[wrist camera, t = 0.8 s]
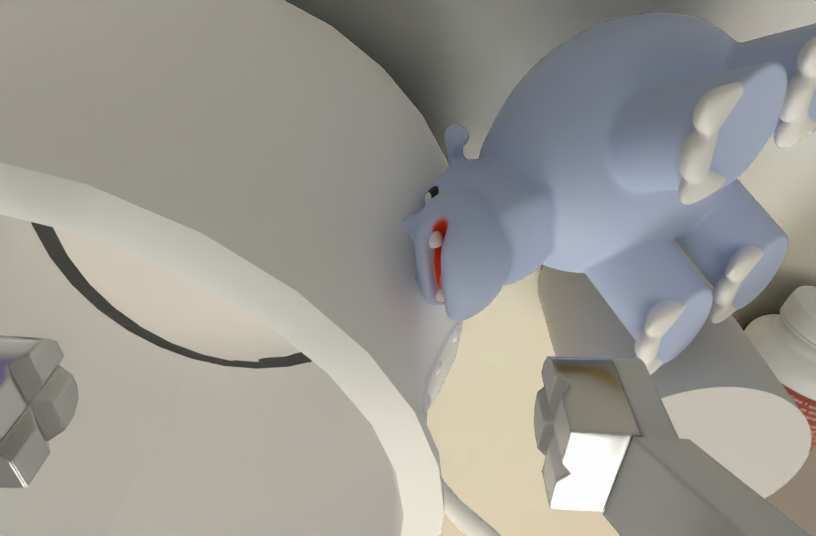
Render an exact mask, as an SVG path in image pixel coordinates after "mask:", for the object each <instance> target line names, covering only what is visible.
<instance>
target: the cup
mask: <svg viewBox="0 0 816 536" xmlns="http://www.w3.org/2000/svg"><path fill="white" fill-rule="evenodd" d="M673 243H674V244H675V245H676V247H677V248H678V249H679V250H680V251H681V253H682V254H683V255H684V256H685V258H686V259H687V260H688V261H689V263H690V264H691V265H692V266H693V267H694V269H695V270H696V271H697V272H698V274H699V275H700V276H701V277H702V279H703V280H704V281H705V282H706V283H707V285H708V286H709V287H710V289H711V291H712V294H713V287H712V286H711V284H710V283H709V282H708V280H707V279H706V278H705V276H704V275H703V274H702V273H701V272H700V270H699V269H698V268H697V267H696V265H695V264H694V263H693V262H692V261H691V259H690V258H689V257H688V256H687V254H686V253H685V252H684V251H683V249H682V248H681V247H680V246H679V245H678V243H677V242H676V241H675V240H673ZM538 293H539V298H540V302H541V305H542V309H543V313H544V316H545V320H546V323H547V327H548V331H549V334H550V338H551V342H552V345H553V349H554V352H555V356H556V357H588V358H607V359H608V358H635V357H636V353H635V342H636V341H635V339H634V338H633V337H632V335H631V334H630V332H629V331H628V330H627V328H626V327H625V326H624V324H623V323H622V322H621V320H620V319H619V318H618V316H617V315H616V314H615V312H614V311H613V310H612V308H611V307H610V306H609V304H608V303H607V302H606V300H605V299H604V298H603V296H602V295H601V294H600V292H599V291H598V290H597V288H596V287H595V286H594V284H593V283H592V282H591V280H590V279H589V278H588V276H587V275H586V274H585V273H575V272H566V271H561V270H557V269H554V268H550V267H547V266H545V265H543V267H542V269H541V272H540V276H539V281H538ZM650 376H651V378H652V380H653V382H654V385H655V387H656V389H657V391H658V393H659V395H660V398H661V400H662V402H663V404H664V406H665V408H666V411H667V413H668V415H669V417H670V419H671V421H672V424H673V426H674V428H675V430H676V432H677V434H678V437H679V439H690V440H691V441H692V442H693V443H695V444H696V445H697V446H698V447H700V448H701V449H702V450H703V451H705V452H706V453H707V454H709V455H710V456H711V457H712V458H714V459H715V460H716V461H717V462H719V463H720V464H721V465H722V466H724V467H725V468H726V469H727V470H729V471H730V472H731V473H732V474H734V475H735V476H736V477H738V478H739V479H740V480H741V481H743V482H744V483H745V484H746V485H748V486H749V487H750V488H751V489H753V490H754V491H755V492H756V493H758V494H759V495H760V496H761V497H763V498H766V497H768V496H769V495H771V494H773V493H774V492H775V491H777V490H778V489H780V488H781V487H782V486H784V485H785V484H786V483H787V482H788V481H789V480H790V479H791V478H792V477H793V476H794V475H795V474H796V473H797V472H798V470H799V469H800V468H801V466H802V465H803V464H804V462H805V460H806V458H807V455H808V453H809V450H810V446H811V430H810V426H809V424H808V421H807V420H806V418H805V416H804V415H803V414H802V412H801V411H800V409H799V408H798V406H797V405H796V404H795V402H794V401H793V399H792V398H791V397H790V395H789V394H788V392H787V391H786V390H785V388H784V387H783V385H782V384H781V383H780V381H779V380H778V378H777V377H776V376H775V374H774V373H773V371H772V370H771V369H770V367H769V366H768V364H767V363H766V362H765V360H764V359H763V357H762V356H761V355H760V353H759V352H758V350H757V349H756V348H755V346H754V345H753V343H752V342H751V341H750V339H749V338H748V336H747V335H746V334H745V332H744V331H743V329H742V328H741V327H740V325H739V324H738V322H737V321H736V320H735V318H734V317H733V315H732V314H731V315H730V316H729V317H727V318H726V319H725V320H723V321H722V322H720V323H716V324H715V323H712V322H711V321H710V318H709V315H708V317H707V319H706V321H705V323H704V325H703V326H702V328H701V329H700V331H699V332H698V334H697V335H696V336H695V338H694V339H693V340H692V342H691V343H690V344H689V345H688V346H687V347H686V348H685V349H684V350H683V351H682V352H681V353H680V354H679V355H678V356H676V357H675V358H674V359H672V360H671V361H669V362H667V363H664V364H662V365H661V366H660V367H659V368H658V369H657V370H656V371H655V372H654V373H653V374H651V375H650Z"/></svg>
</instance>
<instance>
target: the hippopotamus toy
mask: <svg viewBox="0 0 816 536" xmlns="http://www.w3.org/2000/svg"><path fill="white" fill-rule="evenodd" d="M814 131H816V23H815V24H812V25H808V26H804V27H800V28H796V29H792V30H788V31H785V32H781V33H777V34H773V35H769V36H765V37H762V38H758V39H754V40H751V41H747V42H742V43H740V42H737V41H735V40H734V39H733V38H731V37H730V36H729V35H728V34H726V33H725V32H724V31H722V30H721V29H719V28H718V27H716V26H715V25H713V24H711V23H709V22H707V21H705V20H702V19H700V18H697V17H694V16H691V15H686V14H681V13H673V12H651V13H641V14H635V15H629V16H625V17H621V18H617V19H613V20H610V21H607V22H604V23H601V24H599V25H596V26H594V27H592V28H589V29H587V30H585V31H583V32H581V33H579V34H577V35H575V36H574V37H572V38H570V39H569V40H567V41H565V42H564V43H562V44H561V45H559V46H558V47H556V48H555V49H554V50H552V51H551V52H550V53H548V54H547V55H546V56H545V57H544V58H542V59H541V60H540V61H539V62H538V63H537V64H536V65H535V66H534V67H533V68H532V69H531V70H530V71H529V72H528V73H527V74H526V75H525V76H524V77H523V79H522V80H521V81H520V82H519V83H518V85H517V86H516V87H515V88H514V90H513V91H512V92H511V94H510V95H509V97H508V98H507V100H506V101H505V103H504V104H503V106H502V108H501V109H500V111H499V113H498V115H497V117H496V118H495V120H494V122H493V124H492V126H491V128H490V130H489V132H488V134H487V136H486V138H485V140H484V143H483V145H482V148H481V151H480V155H479V159H466V158H465V157H464V155H463V147H464V145H465V144H466V143H467V142H468V139H469V134H468V132H467V130H466V129H465V128H464V127H463V126H461V125H451V126H450V127H448V128H447V130H446V132H445V136H444V140H445V145H446V149H447V153H448V157H449V162H450V164H449V167H448V168H447V169H446V170H445V171H444V172H443V173H442V174H441V175H440V176H439V177H438V178H437V179H436V180H435V181H434V182H432V183H431V184H430V185H429V186H428V188H427V189H426V196H425V204H426V205H425V207H424V208H423V209H422V210H421V211H420V212H419V213H417V214H413V215H410V216H407V217H406V218H405V219H404V221H403V225H404V228H405V231H406V233H407V234H408V236H409V237H410V238H411V239H412V240H413V243H414V253H415V260H416V266H417V274H416V276H415V280H416V281H417V282H418V284H419V290H420V291H421V294H422V297H423V299H424V301H425V302H426V303H428V304H430V305H445V309H446V313H447V316H448V317H449V318H450V319H451V320H455V321H460V320H465V319H468V318H470V317H472V316H474V315H476V314H477V313H479V312H480V311H482V310H483V309H484V308H485V307H486V306H487V305H488V304H489V303H490V302H491V301H492V300H493V299H494V298H495V297H496V296H497V294H498V293H499V291H500V290H501V288H502V287H503V286H505V285H509V284H512V283H514V282H517V281H519V280H521V279H523V278H524V277H526V276H528V275H529V274H531V273H532V272H533V271H535V270H536V269H537V268H538V267H539V266H540V265H541V264H542V265H545V266H547V267H550V268H554V269H557V270H561V271H566V272H575V273H585V274H586V275H587V276H588V278H589V279H590V280H591V282H592V283H593V284H594V286H595V287H596V288H597V290H598V291H599V292H600V294H601V295H602V296H603V298H604V299H605V300H606V302H607V303H608V304H609V306H610V307H611V308H612V310H613V311H614V312H615V314H616V315H617V316H618V318H619V319H620V320H621V322H622V323H623V324H624V326H625V327H626V328H627V330H628V331H629V332H630V334H631V335H632V337H633V338H634V339H635V341H636V342H635V353H636V357H635V358H639V359H641V360H642V361H643V362H644V363H645V365H646V367H647V369H648V372H649V374H650V375H651V374H653V373H654V372H655V371H656V370H657V369H658V368H659V367H660V366H661V365H662V364H664V363H667V362H669V361H671V360H672V359H674V358H675V357H676V356H678V355H679V354H680V353H681V352H682V351H683V350H684V349H685V348H686V347H687V346H688V345H689V344H690V343H691V342H692V340H693V339H694V338H695V336H696V335H697V334H698V332H699V331H700V329H701V328H702V326H703V325H704V323H705V321H706V319H707V317H708V315H709V318H710V321H711V322H712V323H715V324H716V323H720V322H722V321H723V320H725V319H726V318H727V317H729V316H730V315H731V314H732V313H734V312H735V311H736V310H738V309H741V308H743V307H745V306H746V305H747V304H749V303H750V302H751V301H752V300H754V299H755V298H756V297H757V296H758V295H759V294H760V293H761V292H762V291H763V290H764V289H765V288H766V286H767V285H768V284H769V283H770V281H771V280H772V278H773V277H774V276H775V274H776V272H777V271H778V269H779V268H780V266H781V264H782V262H783V260H784V258H785V255H786V252H787V249H788V237H787V235H786V234H785V232H784V231H783V230H782V229H781V228H780V227H779V226H778V224H777V223H776V222H775V221H774V220H773V219H772V218H771V217H770V215H769V214H768V213H767V212H766V211H765V210H764V209H763V207H762V206H761V205H760V204H759V203H758V202H757V201H756V200H755V198H754V197H753V196H752V195H751V194H750V193H749V192H748V190H747V189H746V188H745V187H744V186H743V185H742V184H741V183H740V181H739V180H738V179H737V178H738V177H739V176H740V175H741V174H742V173H743V172H744V171H745V170H746V169H747V168H748V166H749V165H750V164H751V163H752V162H753V160H754V159H755V158H756V156H757V155H758V154H759V152H760V151H761V149H762V148H763V146H764V144H765V143H766V141H767V140H768V138H769V137H774V141H775V144H776V146H777V147H779V148H785V147H788V146H791V145H793V144H795V143H797V142H798V141H800V140H802V139H803V138H804V137H806V136H807V135H808V134H809V133H811V132H814ZM673 240H675V241H676V242H677V243H678V245H679V246H680V247H681V248H682V249H683V251H684V252H685V253H686V254H687V256H688V257H689V258H690V259H691V261H692V262H693V263H694V264H695V265H696V267H697V268H698V269H699V270H700V272H701V273H702V274H703V275H704V276H705V278H706V279H707V280H708V281H709V283H710V284H711V285H712V286H713V288H714V289H713V294H712V291H711V289H710V287H709V286H708V285H707V283H706V282H705V281H704V280H703V279H702V277H701V276H700V275H699V274H698V272H697V271H696V270H695V269H694V267H693V266H692V265H691V264H690V263H689V261H688V260H687V259H686V258H685V256H684V255H683V254H682V253H681V251H680V250H679V249H678V248H677V247H676V245H675V244H674V243H673Z"/></svg>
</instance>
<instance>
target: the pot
mask: <svg viewBox="0 0 816 536" xmlns="http://www.w3.org/2000/svg"><path fill="white" fill-rule="evenodd" d="M448 167H449V164H448V162H447V160H446V158H445V156H444V154H443V152H442V151H441V149H440V147H439V145H438V143H437V141H436V140H435V138H434V136H433V134H432V132H431V130H430V128H429V127H428V125H427V123H426V121H425V119H424V117H423V116H422V114H421V113H420V112H419V111H418V109H417V108H416V107H415V106H414V105H413V103H412V102H411V101H410V100H409V99H408V97H407V96H406V95H405V94H404V93H403V91H402V90H401V89H400V88H399V87H398V85H397V84H396V83H395V82H394V81H393V79H392V78H391V77H390V76H389V75H388V73H387V72H386V71H385V70H384V69H383V68H382V67H381V66H380V65H379V64H378V63H376V62H375V61H374V60H373V59H371V58H370V57H369V56H368V55H367V54H365V53H364V52H363V51H362V50H360V49H359V48H358V47H357V46H356V45H354V44H353V43H352V42H351V41H349V40H348V39H347V38H346V37H345V36H343V35H342V34H341V33H340V32H338V31H337V30H336V29H335V28H334V27H332V26H331V25H329V24H327V23H325V22H323V21H322V20H320V19H318V18H316V17H314V16H312V15H311V14H309V13H307V12H305V11H303V10H301V9H299V8H298V7H296V6H294V5H292V4H290V3H288V2H287V1H285V0H0V335H1V336H17V337H34V338H48V339H51V340H55V341H57V342H58V344H59V346H60V348H61V350H62V352H63V354H64V357H63V359H62V361H61V363H60V366H61V367H63V368H64V369H65V370H67V371H68V372H69V373H71V374H72V375H73V377H74V379H75V382H76V384H77V388H78V402H77V406H76V410H75V414H74V417H73V418H72V420H71V421H70V423H69V425H68V426H67V428H66V430H65V431H63V432H62V433H60V434H58V435H57V436H55V437H54V438H52V439H51V440H49V447H50V454H49V456H48V457H47V459H46V460H45V462H44V463H43V465H42V466H41V468H40V469H39V471H38V472H37V474H36V475H35V477H34V478H33V480H32V481H31V483H30V484H29V486H28V487H27V488H0V536H440V534H441V529H442V525H443V520H444V515H446V516H447V517H448V518H449V519H450V520H451V521H452V522H453V523H454V524H455V525H456V526H457V528H458V529H459V530H460V531H461V532H462V533H463V534H464V535H465V536H501V535H500V534H499V533H498V532H497V531H496V530H495V529H494V528H492V527H491V526H490V525H489V524H488V523H487V522H485V521H484V520H483V519H482V518H481V517H479V516H478V515H477V514H476V513H475V512H474V511H472V510H471V509H470V508H469V507H468V506H467V505H465V504H464V503H463V502H462V501H461V500H460V499H459V498H458V497H457V496H456V494H455V493H454V492H453V491H452V490H451V489H450V487H449V486H448V485H447V484H446V483H445V482H444V480H443V478H442V476H441V467H440V459H439V452H438V450H437V447H436V445H435V443H434V440H433V438H432V436H431V433H430V431H429V429H428V426H427V413H428V411H429V409H430V407H431V406H432V404H433V402H434V400H435V399H436V397H437V395H438V394H439V391H440V389H441V387H442V385H443V383H444V381H445V379H446V376H447V374H448V372H449V370H450V368H451V366H452V364H453V361H454V359H455V357H456V353H457V348H458V343H459V339H460V334H461V329H462V324H463V320H460V321H455V320H451V319H450V318H449V317H448V316H447V313H446V309H445V305H430V304H428V303H426V302H425V301H424V299H423V297H422V294H421V291H420V290H419V284H418V282H417V281H416V280H415V276H416V274H417V266H416V260H415V253H414V243H413V240H412V239H411V238H410V237H409V236H408V234H407V233H406V231H405V228H404V225H403V221H404V219H405V218H406V217H407V216H410V215H413V214H417V213H419V212H420V211H421V210H422V209H423V208H424V207H425V205H426V204H425V196H426V189H427V188H428V186H429V185H430V184H431V183H432V182H434V181H435V180H436V179H437V178H438V177H439V176H440V175H441V174H442V173H443V172H444V171H445V170H446V169H447V168H448Z"/></svg>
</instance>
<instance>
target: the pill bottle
mask: <svg viewBox="0 0 816 536" xmlns="http://www.w3.org/2000/svg"><path fill="white" fill-rule="evenodd" d="M744 332H745V334H746V335H747V336H748V338H749V339H750V341H751V342H752V343H753V345H754V346H755V348H756V349H757V350H758V352H759V353H760V355H761V356H762V357H763V359H764V360H765V362H766V363H767V364H768V366H769V367H770V369H771V370H772V371H773V373H774V374H775V376H776V377H777V378H778V380H779V381H780V383H781V384H782V385H783V387H784V388H785V390H786V391H787V392H788V394H789V395H790V397H791V398H792V399H793V401H794V402H795V404H796V405H797V406H798V408H799V409H800V411H801V412H802V414H803V415H804V416H805V418H806V420H807V421H808V424H809V426H810V430H811V446H810V450H809V453H810V452H811V451H812V450H813V449H814V448H815V447H816V287H814V286H800V287H798V288H796V289H795V290H794V291H793V293H792V294H791V295H790V296H789V297H788V299H787V300H786V302H785V303H784V304H783V306H782V307H781V308H780V314H769V315H764V316H761V317H758V318H756V319H755V320H753V321H752V322H751V323H750V324H749V325H748V326H747V327H746V329H745V330H744ZM809 453H808V454H809Z"/></svg>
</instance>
